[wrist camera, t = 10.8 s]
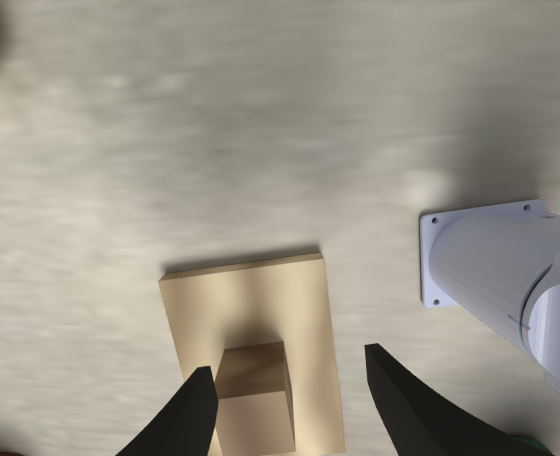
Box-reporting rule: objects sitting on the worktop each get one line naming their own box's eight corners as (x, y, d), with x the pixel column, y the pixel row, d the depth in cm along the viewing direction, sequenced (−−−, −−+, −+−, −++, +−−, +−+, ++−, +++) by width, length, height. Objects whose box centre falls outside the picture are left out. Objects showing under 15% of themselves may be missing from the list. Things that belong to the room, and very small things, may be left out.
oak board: (320, 252, 22) (323, 258, 20) (342, 436, 26) (345, 452, 24) (165, 273, 22) (157, 281, 21) (211, 451, 26) (207, 468, 25)
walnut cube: (283, 341, 22) (284, 390, 17) (292, 391, 23) (295, 451, 18) (224, 349, 22) (208, 400, 17) (235, 399, 23) (223, 460, 18)
